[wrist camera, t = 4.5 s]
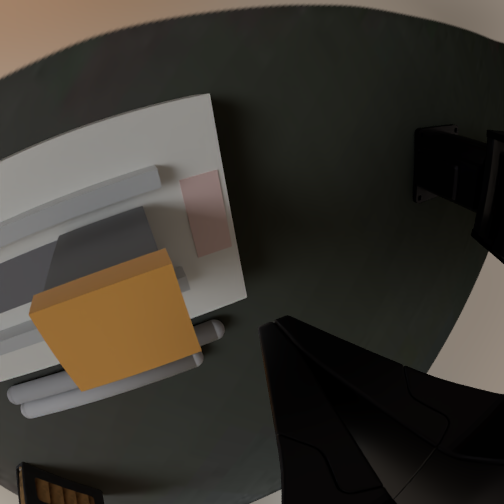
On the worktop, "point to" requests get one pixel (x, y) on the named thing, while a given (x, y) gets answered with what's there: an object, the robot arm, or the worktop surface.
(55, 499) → the ammunition clip
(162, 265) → the breaker lever
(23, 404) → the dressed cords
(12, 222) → the breaker panel
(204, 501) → the worktop surface
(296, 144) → the worktop surface
